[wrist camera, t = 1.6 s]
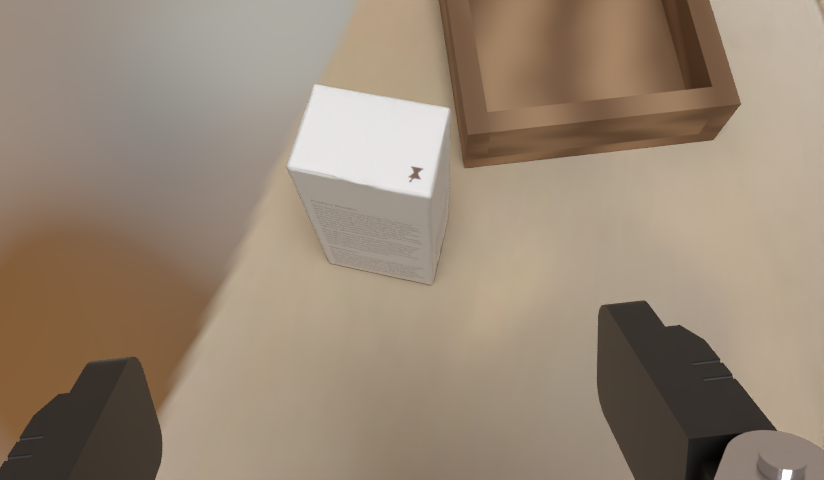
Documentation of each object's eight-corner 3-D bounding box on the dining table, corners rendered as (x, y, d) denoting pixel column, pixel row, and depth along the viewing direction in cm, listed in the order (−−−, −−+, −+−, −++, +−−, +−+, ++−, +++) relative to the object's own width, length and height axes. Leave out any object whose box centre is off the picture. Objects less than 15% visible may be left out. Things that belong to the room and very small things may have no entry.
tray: (663, -34, 46) (684, -82, 42) (713, 139, 42) (740, 104, 38) (437, -9, 46) (438, -55, 42) (464, 168, 42) (467, 134, 38)
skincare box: (449, 216, 41) (456, 106, 29) (433, 287, 39) (433, 201, 28) (345, 194, 41) (312, 78, 30) (325, 264, 40) (282, 170, 29)
